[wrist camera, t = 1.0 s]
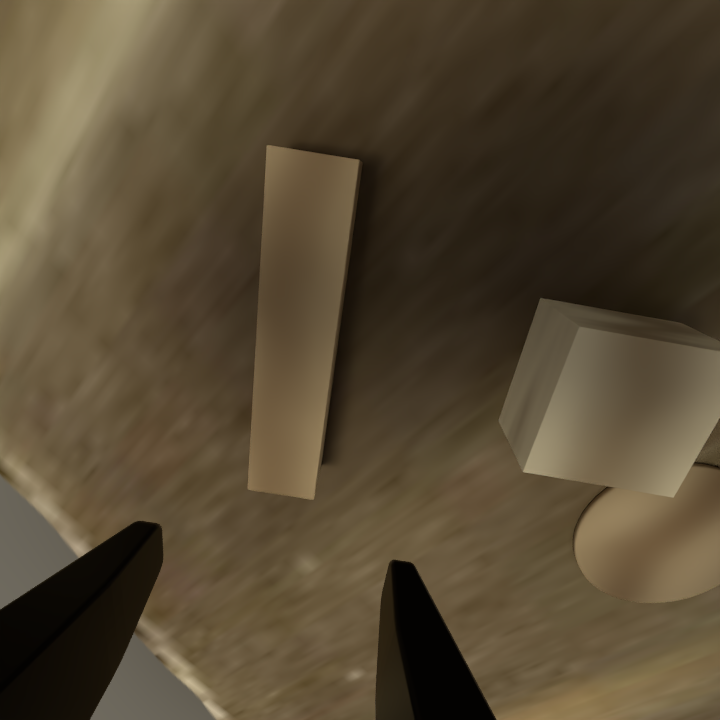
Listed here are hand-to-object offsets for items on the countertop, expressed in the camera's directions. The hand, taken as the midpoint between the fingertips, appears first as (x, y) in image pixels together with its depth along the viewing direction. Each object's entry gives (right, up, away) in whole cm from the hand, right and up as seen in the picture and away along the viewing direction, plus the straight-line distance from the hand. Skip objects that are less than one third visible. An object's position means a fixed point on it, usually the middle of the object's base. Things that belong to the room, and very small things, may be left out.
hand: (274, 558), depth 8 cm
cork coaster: (+17, -5, +14) cm, 23 cm away
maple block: (+11, +3, +11) cm, 17 cm away
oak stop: (-1, +5, +11) cm, 12 cm away
